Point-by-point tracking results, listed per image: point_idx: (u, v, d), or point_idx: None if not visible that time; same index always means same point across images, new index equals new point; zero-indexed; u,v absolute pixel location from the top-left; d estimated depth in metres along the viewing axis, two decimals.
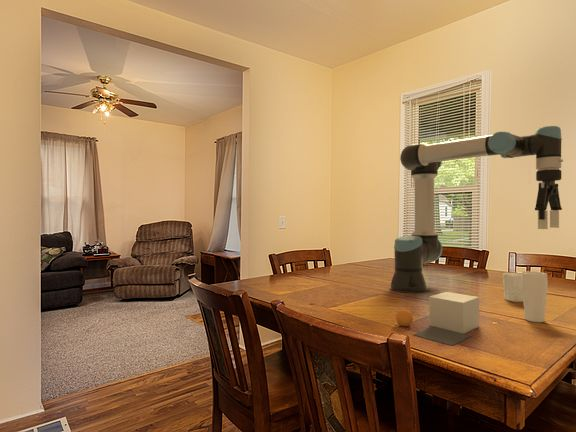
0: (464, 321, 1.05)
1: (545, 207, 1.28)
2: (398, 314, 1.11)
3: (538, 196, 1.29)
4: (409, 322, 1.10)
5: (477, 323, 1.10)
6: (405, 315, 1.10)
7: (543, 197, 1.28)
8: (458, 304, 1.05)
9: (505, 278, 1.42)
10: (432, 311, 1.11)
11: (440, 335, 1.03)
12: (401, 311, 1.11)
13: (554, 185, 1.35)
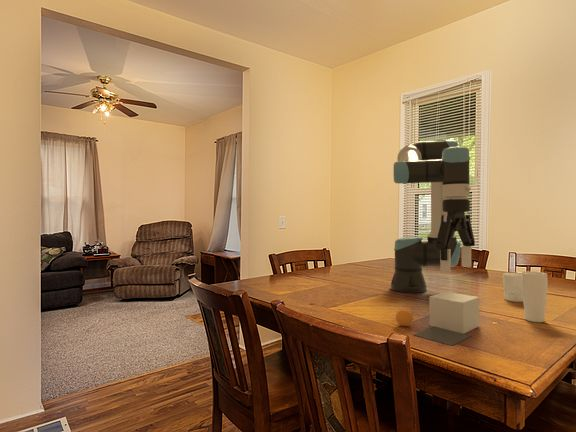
0: (464, 321, 1.05)
1: (447, 246, 1.05)
2: (398, 314, 1.11)
3: (439, 232, 1.07)
4: (409, 322, 1.10)
5: (477, 323, 1.10)
6: (405, 315, 1.10)
7: (444, 233, 1.05)
8: (458, 304, 1.05)
9: (505, 278, 1.42)
10: (432, 311, 1.11)
11: (440, 335, 1.03)
12: (401, 311, 1.11)
13: (463, 217, 1.12)
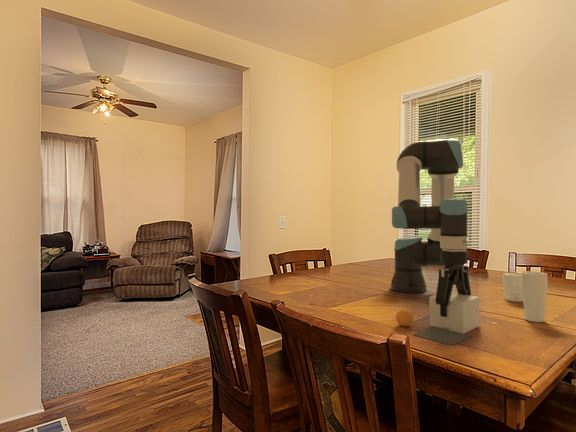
0: (464, 321, 1.05)
1: (446, 303, 1.06)
2: (398, 314, 1.11)
3: (438, 288, 1.07)
4: (409, 322, 1.10)
5: (477, 323, 1.10)
6: (405, 315, 1.10)
7: (443, 290, 1.06)
8: (458, 304, 1.05)
9: (505, 278, 1.42)
10: (432, 311, 1.11)
11: (440, 335, 1.03)
12: (401, 311, 1.11)
13: (461, 268, 1.12)
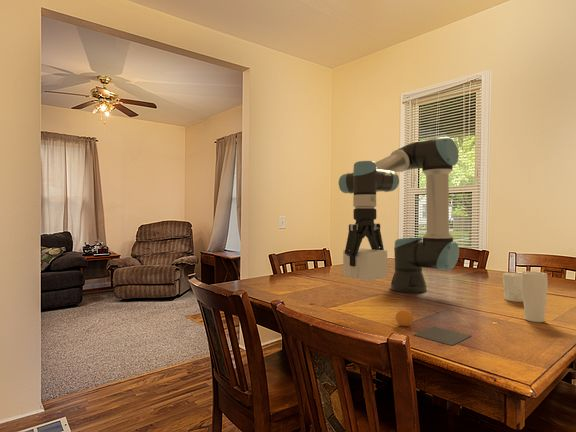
0: (369, 270, 1.16)
1: (354, 253, 1.18)
2: (398, 314, 1.11)
3: (347, 240, 1.19)
4: (409, 322, 1.10)
5: (385, 274, 1.22)
6: (405, 315, 1.10)
7: (351, 242, 1.17)
8: (364, 254, 1.17)
9: (505, 278, 1.42)
10: (345, 263, 1.23)
11: (440, 335, 1.03)
12: (401, 311, 1.11)
13: (372, 224, 1.24)
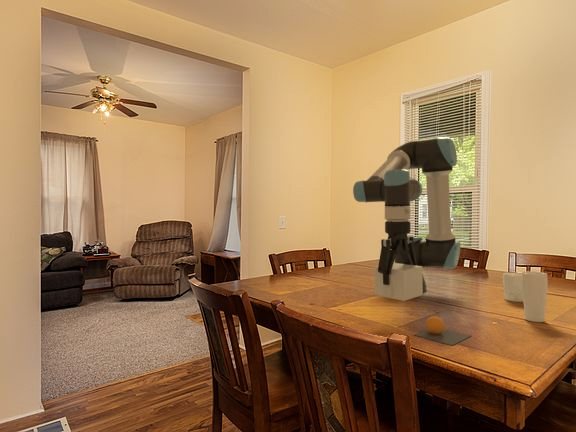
0: (405, 289, 1.07)
1: (388, 271, 1.08)
2: (430, 331, 1.03)
3: (380, 257, 1.09)
4: (430, 317, 1.05)
5: (420, 291, 1.13)
6: None
7: (385, 259, 1.08)
8: (399, 272, 1.08)
9: (505, 278, 1.42)
10: (377, 281, 1.14)
11: (440, 335, 1.03)
12: (428, 330, 1.04)
13: (405, 238, 1.14)
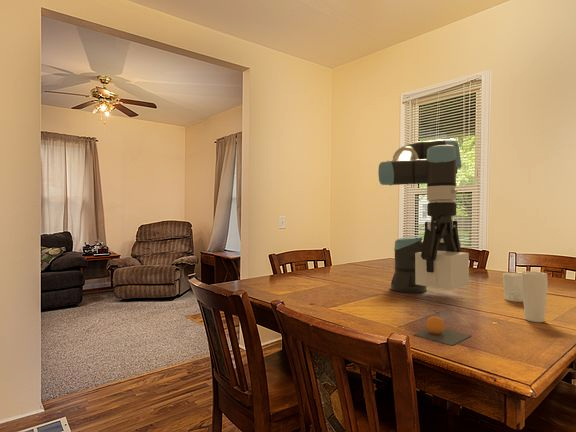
0: (452, 276, 0.96)
1: (433, 257, 0.97)
2: (430, 331, 1.03)
3: (424, 241, 0.98)
4: (430, 317, 1.05)
5: (467, 281, 1.01)
6: None
7: (429, 243, 0.97)
8: (446, 258, 0.96)
9: (505, 278, 1.42)
10: (418, 268, 1.03)
11: (440, 335, 1.03)
12: (428, 330, 1.04)
13: (450, 221, 1.03)
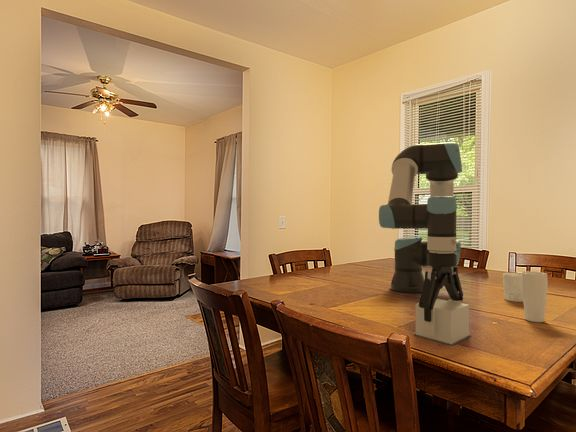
0: (452, 331, 0.96)
1: (431, 306, 0.97)
2: None
3: (423, 290, 0.98)
4: None
5: (467, 333, 1.02)
6: None
7: (428, 293, 0.97)
8: (446, 313, 0.97)
9: (505, 278, 1.42)
10: (418, 320, 1.03)
11: None
12: None
13: (450, 271, 1.04)
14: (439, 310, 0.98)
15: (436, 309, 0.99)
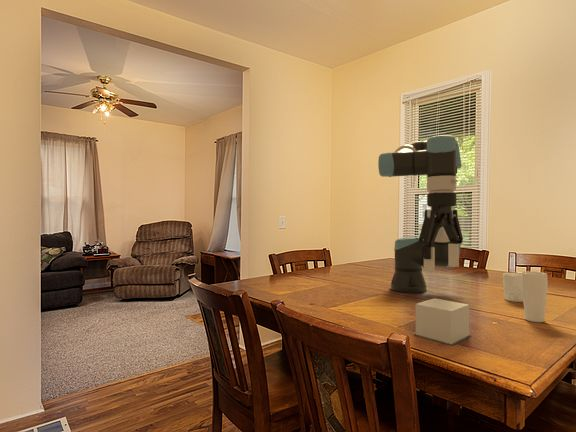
0: (452, 331, 0.96)
1: (430, 243, 0.96)
2: None
3: (422, 228, 0.98)
4: None
5: (467, 333, 1.02)
6: None
7: (427, 230, 0.96)
8: (446, 313, 0.97)
9: (505, 278, 1.42)
10: (418, 320, 1.03)
11: None
12: None
13: (450, 212, 1.03)
14: (439, 310, 0.98)
15: (436, 309, 0.99)
